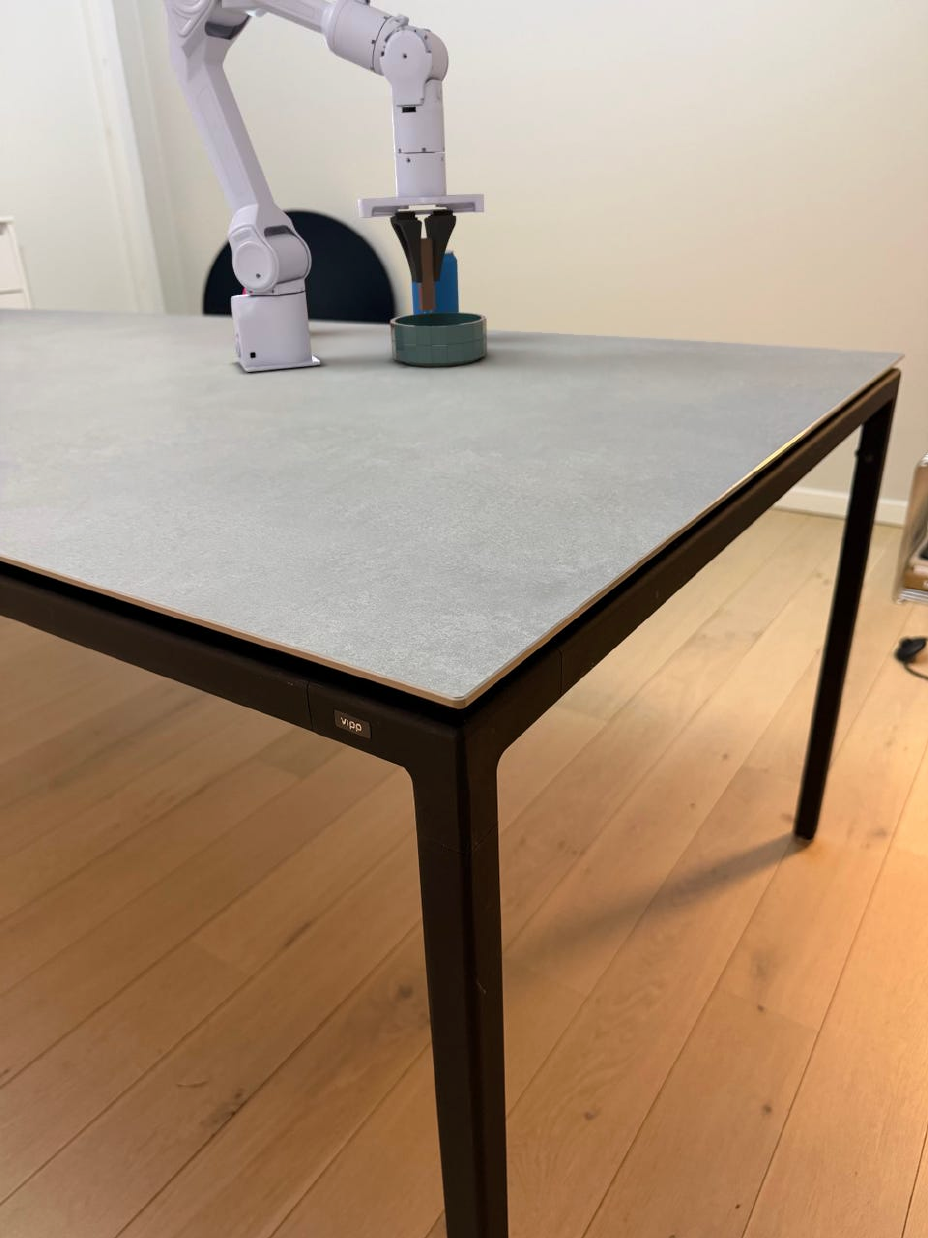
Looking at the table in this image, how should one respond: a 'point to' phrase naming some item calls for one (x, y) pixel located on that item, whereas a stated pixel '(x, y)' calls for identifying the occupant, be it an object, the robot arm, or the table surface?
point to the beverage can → (442, 287)
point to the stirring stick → (427, 277)
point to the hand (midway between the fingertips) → (425, 281)
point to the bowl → (439, 338)
